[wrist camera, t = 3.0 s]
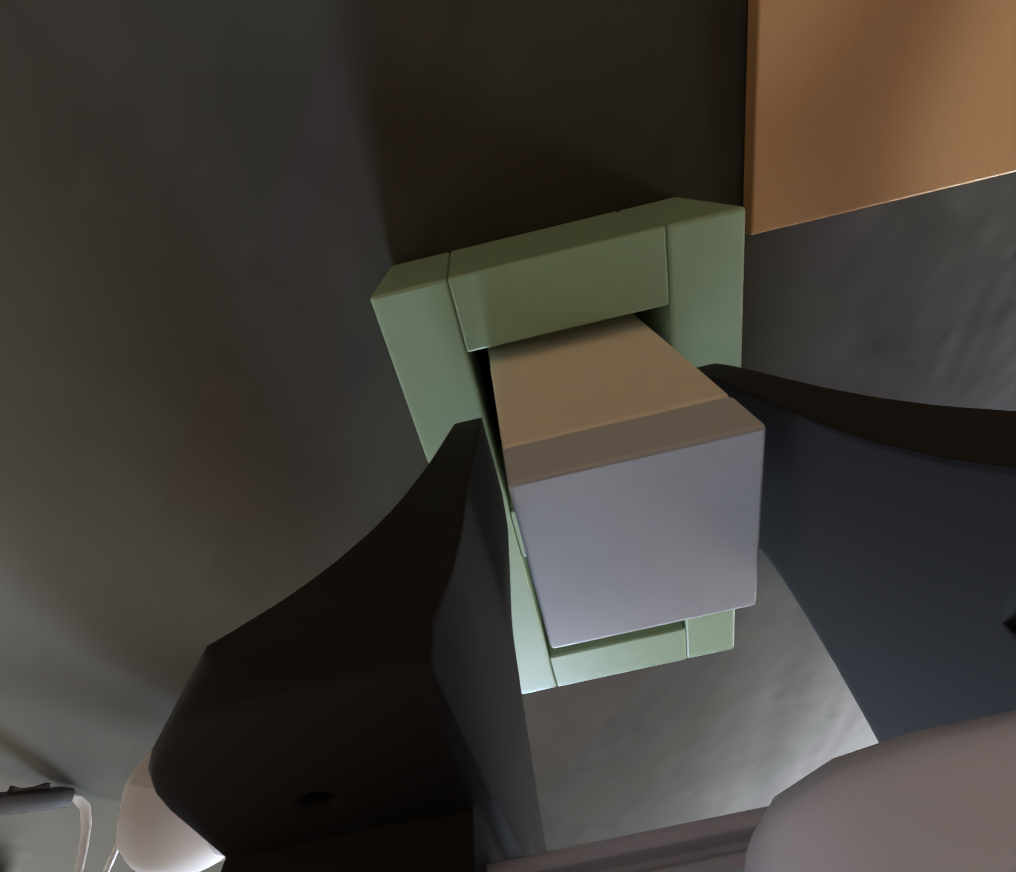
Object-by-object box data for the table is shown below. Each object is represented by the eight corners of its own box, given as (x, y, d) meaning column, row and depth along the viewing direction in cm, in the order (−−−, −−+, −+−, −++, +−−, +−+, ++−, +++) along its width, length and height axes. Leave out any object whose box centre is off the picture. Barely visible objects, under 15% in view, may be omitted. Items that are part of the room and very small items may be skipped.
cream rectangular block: (609, 291, 14) (768, 424, 7) (621, 405, 15) (757, 606, 8) (482, 321, 14) (507, 484, 7) (509, 430, 15) (550, 650, 8)
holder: (677, 195, 12) (747, 205, 9) (690, 572, 19) (734, 649, 16) (390, 265, 13) (368, 297, 10) (502, 613, 19) (510, 697, 16)
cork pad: (1107, -231, 9) (1138, -251, 9) (1003, 170, 13) (1022, 171, 12) (750, -139, 10) (764, -153, 9) (741, 233, 13) (751, 235, 13)
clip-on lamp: (142, 780, 28) (451, 826, 25) (40, 938, 22) (416, 1015, 20) (9, 666, 21) (413, 712, 18) (-180, 854, 16) (346, 955, 13)
